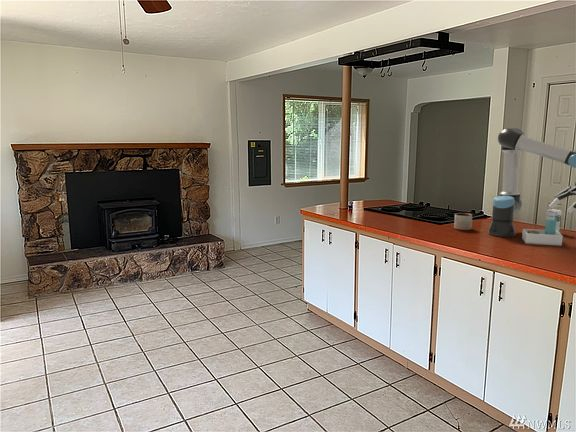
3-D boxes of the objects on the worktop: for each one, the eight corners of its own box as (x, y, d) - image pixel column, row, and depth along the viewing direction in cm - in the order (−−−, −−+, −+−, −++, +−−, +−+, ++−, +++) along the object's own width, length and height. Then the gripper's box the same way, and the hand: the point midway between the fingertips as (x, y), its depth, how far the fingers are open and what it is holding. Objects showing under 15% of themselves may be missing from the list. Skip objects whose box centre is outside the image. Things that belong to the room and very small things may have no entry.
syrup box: (552, 234, 265) (555, 210, 262) (544, 232, 270) (546, 209, 268) (560, 233, 266) (562, 210, 264) (552, 231, 272) (554, 208, 269)
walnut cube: (528, 240, 246) (529, 232, 245) (527, 238, 251) (528, 230, 250) (538, 241, 245) (539, 232, 244) (537, 239, 249) (538, 230, 248)
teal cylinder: (545, 241, 244) (547, 220, 241) (543, 239, 248) (545, 219, 246) (555, 242, 242) (557, 221, 240) (553, 240, 246) (555, 219, 244)
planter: (467, 226, 291) (468, 212, 289) (474, 230, 280) (475, 215, 279) (451, 227, 291) (452, 213, 289) (458, 230, 280) (458, 216, 278)
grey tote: (525, 243, 243) (526, 233, 242) (522, 238, 256) (522, 228, 255) (561, 245, 237) (562, 235, 236) (556, 240, 250) (557, 230, 249)
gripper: (609, 189, 230) (581, 218, 230) (572, 184, 254) (546, 210, 255) (601, 179, 228) (573, 208, 229) (565, 175, 252) (539, 201, 253)
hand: (559, 209), depth 242 cm, fingers open, 13 cm apart
